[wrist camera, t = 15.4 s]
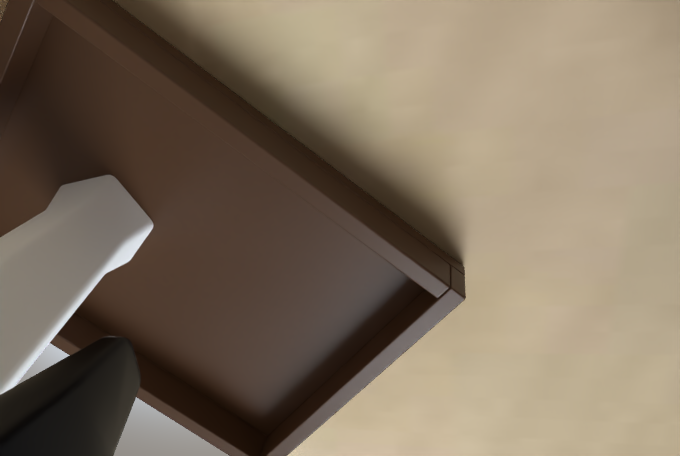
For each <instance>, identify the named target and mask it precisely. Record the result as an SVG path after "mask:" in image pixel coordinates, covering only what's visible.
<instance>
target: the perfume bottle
mask: <svg viewBox="0 0 680 456" xmlns="http://www.w3.org/2000/svg"><path fill="white" fill-rule="evenodd" d="M152 229H153V222H152V220H151V219H150V218H149V217H148V215H147V214H146V213H145V212H144V211H143V209H142V208H141V207H140V206H139V205H138V203H137V202H136V201H135V200H134V199H133V198H132V196H131V195H130V194H129V193H128V192H127V190H126V189H125V188H124V187H123V186H122V184H121V183H120V182H119V181H118V180H117V179H116V178H115V177H114V176H112V175H104V176H100V177H95V178H91V179H86V180H82V181H78V182H73V183H69V184H65V185H62V186H61V187H60V188H59V190H58V191H57V193H56V195H55V196H54V198H53V199H52V201H51V203H50V204H49V206H48V207H47V209H46V210H45V211H43V212H42V213H40V214H38V215H37V216H35V217H33V218H32V219H30V220H29V221H27V222H25V223H24V224H22V225H20V226H19V227H17V228H15V229H14V230H12V231H10V232H9V233H7V234H5V235H4V236H2V237H0V395H1V394H2V393H4V392H6V391H8V390H10V389H11V388H13V387H15V385H16V384H17V383H18V382H19V380H20V379H21V378H22V377H23V375H24V374H25V373H26V372H27V370H28V369H29V368H30V367H31V366H32V364H33V363H34V362H35V360H36V359H37V358H38V357H39V356H40V354H41V353H42V352H43V351H44V349H45V348H46V347H47V345H48V344H49V343H50V342H51V341H52V339H53V338H54V337H55V336H56V334H57V333H58V332H59V331H60V329H61V328H62V327H63V326H64V325H65V323H66V322H67V321H68V320H69V318H70V317H71V316H72V315H73V313H74V312H75V311H76V310H77V308H78V307H79V306H80V305H81V303H82V302H83V301H84V300H85V298H86V297H87V296H88V295H89V293H90V292H91V291H92V290H93V288H94V287H95V286H96V285H97V284H98V282H99V281H100V280H101V279H102V277H103V276H104V275H105V274H106V273H108V272H110V271H112V270H114V269H116V268H118V267H119V266H121V265H123V264H125V263H127V262H129V261H130V260H131V258H132V257H133V256H134V254H135V253H136V251H137V250H138V249H139V247H140V246H141V244H142V243H143V242H144V240H145V239H146V237H147V236H148V235H149V233H150V232H151V230H152Z"/></svg>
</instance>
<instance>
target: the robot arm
mask: <svg viewBox="0 0 680 456" xmlns="http://www.w3.org/2000/svg"><path fill="white" fill-rule="evenodd" d="M140 383H141V374H140V370H139V366H138V363H137V359H136V356H135V352H134V349H133V345H132V343H131V341H130V340H129V339H128V338H126V337H117V336H105V337H102V338H100V339H98V340H97V341H95V342H93V343H91V344H90V345H88V346H86V347H84V348H82V349H81V350H79V351H77V352H75V353H74V354H72V355H70V356H68V357H66V358H65V359H63V360H61V361H59V362H58V363H56V364H54V365H52V366H51V367H49V368H47V369H45V370H43V371H42V372H40V373H38V374H36V375H35V376H33V377H31V378H29V379H27V380H26V381H24V382H22V383H20V384H18V385H17V386H15V387H13V388H11V389H10V390H8V391H6V392H4V393H2V394H1V395H0V456H113V455H114V452H115V450H116V447H117V445H118V442H119V439H120V436H121V434H122V432H123V429H124V426H125V424H126V421H127V418H128V416H129V413H130V411H131V408H132V406H133V403H134V401H135V398H136V395H137V393H138V390H139V387H140Z"/></svg>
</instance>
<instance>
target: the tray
mask: <svg viewBox="0 0 680 456" xmlns="http://www.w3.org/2000/svg"><path fill="white" fill-rule="evenodd" d="M104 175H112V176H114V177H115V178H116V179H117V180H118V181H119V182H120V183H121V184H122V186H123V187H124V188H125V189H126V190H127V192H128V193H129V194H130V195H131V196H132V198H133V199H134V200H135V201H136V202H137V203H138V205H139V206H140V207H141V208H142V209H143V211H144V212H145V213H146V214H147V215H148V217H149V218H150V219H151V220H152V222H153V229H152V230H151V232H150V233H149V235H148V236H147V237H146V239H145V240H144V242H143V243H142V244H141V246H140V247H139V249H138V250H137V251H136V253H135V254H134V256H133V257H132V258H131V260H130V261H129V262H127V263H125V264H123V265H121V266H119V267H118V268H116V269H114V270H112V271H110V272H108V273H106V274H105V275H104V276H103V277H102V279H101V280H100V281H99V282H98V284H97V285H96V286H95V287H94V288H93V290H92V291H91V292H90V293H89V295H88V296H87V297H86V298H85V300H84V301H83V302H82V303H81V305H80V306H79V307H78V308H77V310H76V311H75V312H74V313H73V315H72V316H71V317H70V318H69V320H68V321H67V322H66V323H65V325H64V326H63V327H62V328H61V329H60V331H59V332H58V333H57V334H56V336H55V337H54V338H53V339H52V341H51V342H50V343H51V344H53V345H54V346H56V347H57V348H59V349H61V350H62V351H64V352H65V353H67V354H69V355H72V354H74V353H75V352H77V351H79V350H81V349H82V348H84V347H86V346H88V345H90V344H91V343H93V342H95V341H97V340H98V339H100V338H102V337H105V336H117V337H126V338H128V339H129V340H130V341H131V343H132V345H133V349H134V352H135V356H136V359H137V363H138V366H139V370H140V374H141V383H140V387H139V390H138V393H137V395H136V397H137V398H139V399H140V400H142V401H143V402H145V403H147V404H148V405H150V406H151V407H153V408H155V409H156V410H158V411H159V412H161V413H163V414H164V415H166V416H167V417H169V418H170V419H172V420H174V421H175V422H177V423H178V424H180V425H182V426H183V427H185V428H186V429H188V430H190V431H191V432H193V433H194V434H196V435H198V436H199V437H201V438H202V439H204V440H205V441H207V442H209V443H210V444H212V445H214V446H215V447H217V448H218V449H220V450H221V451H223V452H225V453H226V454H228V455H229V456H287V455H288V454H289V453H291V452H292V451H293V450H294V449H295V448H296V447H297V446H299V445H300V444H301V443H302V442H303V441H304V440H305V439H306V438H308V437H309V436H310V435H311V434H312V433H313V432H314V431H316V430H317V429H318V428H319V427H320V426H321V425H322V424H324V423H325V422H326V421H327V420H328V419H329V418H330V417H332V416H333V415H334V414H335V413H336V412H337V411H338V410H339V409H341V408H342V407H343V406H344V405H345V404H346V403H347V402H349V401H350V400H351V399H352V398H353V397H354V396H355V395H357V394H358V393H359V392H360V391H361V390H362V389H363V388H365V387H366V386H367V385H368V384H369V383H370V382H371V381H372V380H374V379H375V378H376V377H377V376H378V375H379V374H380V373H382V372H383V371H384V370H385V369H386V368H387V367H388V366H390V365H391V364H392V363H393V362H394V361H395V360H396V359H398V358H399V357H400V356H401V355H402V354H403V353H404V352H406V351H407V350H408V349H409V348H410V347H411V346H412V345H413V344H415V343H416V342H417V341H418V340H419V339H420V338H421V337H423V336H424V335H425V334H426V333H427V332H428V331H429V330H431V329H432V328H433V327H434V326H435V325H436V324H437V323H439V322H440V321H441V320H442V319H443V318H444V317H445V316H446V315H448V314H449V313H450V312H451V311H452V310H453V309H454V308H456V307H457V306H458V305H459V304H460V303H461V302H462V301H464V300H465V298H466V296H465V276H464V275H465V270H464V266H462V265H461V264H460V263H458V262H457V261H456V260H454V259H453V258H452V257H450V256H449V255H448V254H446V253H445V252H444V251H442V250H441V249H440V248H438V247H437V246H436V245H434V244H433V243H432V242H431V241H429V240H428V239H427V238H425V237H424V236H423V235H421V234H420V233H419V232H417V231H416V230H415V229H413V228H412V227H411V226H409V225H408V224H407V223H405V222H404V221H403V220H401V219H400V218H399V217H397V216H396V215H395V214H394V213H392V212H391V211H390V210H388V209H387V208H386V207H384V206H383V205H382V204H380V203H379V202H378V201H376V200H375V199H374V198H372V197H371V196H370V195H368V194H367V193H366V192H364V191H363V190H362V189H361V188H359V187H358V186H357V185H355V184H354V183H353V182H351V181H350V180H349V179H347V178H346V177H345V176H343V175H342V174H341V173H339V172H338V171H337V170H335V169H334V168H333V167H331V166H330V165H329V164H327V163H326V162H325V161H324V160H322V159H321V158H320V157H318V156H317V155H316V154H314V153H313V152H312V151H310V150H309V149H308V148H306V147H305V146H304V145H302V144H301V143H300V142H298V141H297V140H296V139H294V138H293V137H292V136H291V135H289V134H288V133H287V132H285V131H284V130H283V129H281V128H280V127H279V126H277V125H276V124H275V123H273V122H272V121H271V120H269V119H268V118H267V117H265V116H264V115H263V114H261V113H260V112H259V111H257V110H256V109H255V108H254V107H252V106H251V105H250V104H248V103H247V102H246V101H244V100H243V99H242V98H240V97H239V96H238V95H236V94H235V93H234V92H232V91H231V90H230V89H228V88H227V87H226V86H224V85H223V84H222V83H220V82H219V81H218V80H217V79H215V78H214V77H213V76H211V75H210V74H209V73H207V72H206V71H205V70H203V69H202V68H201V67H199V66H198V65H197V64H195V63H194V62H193V61H191V60H190V59H189V58H187V57H186V56H185V55H184V54H182V53H181V52H180V51H178V50H177V49H176V48H174V47H173V46H172V45H170V44H169V43H168V42H166V41H165V40H164V39H162V38H161V37H160V36H158V35H157V34H156V33H154V32H153V31H152V30H150V29H149V28H148V27H147V26H145V25H144V24H143V23H141V22H140V21H139V20H137V19H136V18H135V17H133V16H132V15H131V14H129V13H128V12H127V11H125V10H124V9H123V8H121V7H120V6H119V5H117V4H116V3H115V2H114V1H112V0H9V1H8V4H7V6H6V9H5V12H4V14H3V17H2V20H1V22H0V237H2V236H4V235H5V234H7V233H9V232H10V231H12V230H14V229H15V228H17V227H19V226H20V225H22V224H24V223H25V222H27V221H29V220H30V219H32V218H33V217H35V216H37V215H38V214H40V213H42V212H43V211H45V210H46V209H47V207H48V206H49V204H50V203H51V201H52V199H53V198H54V196H55V195H56V193H57V191H58V190H59V188H60V187H61V186H62V185H65V184H69V183H73V182H78V181H82V180H86V179H91V178H95V177H100V176H104Z"/></svg>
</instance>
